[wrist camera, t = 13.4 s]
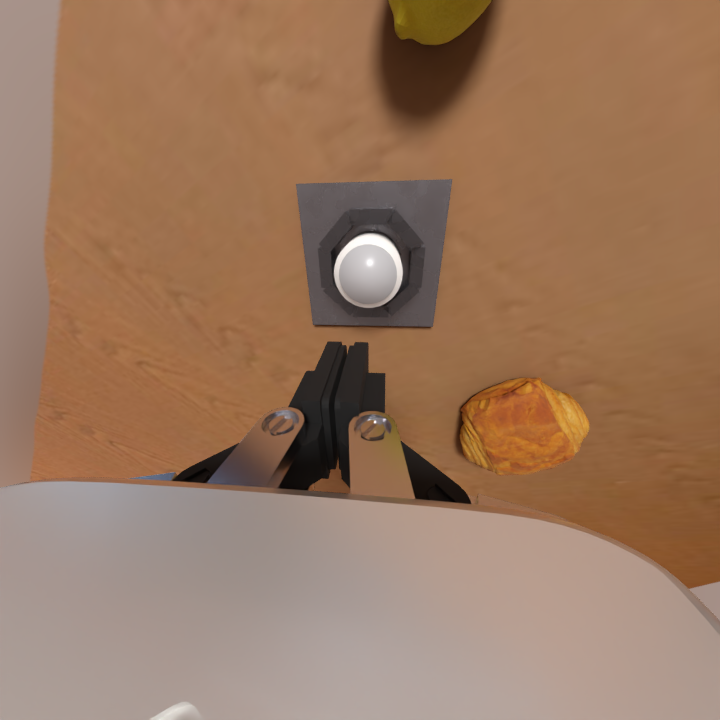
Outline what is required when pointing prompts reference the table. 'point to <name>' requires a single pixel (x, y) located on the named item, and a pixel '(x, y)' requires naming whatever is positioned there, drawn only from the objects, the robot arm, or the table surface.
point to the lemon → (434, 18)
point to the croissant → (522, 427)
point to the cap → (369, 270)
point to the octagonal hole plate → (390, 217)
